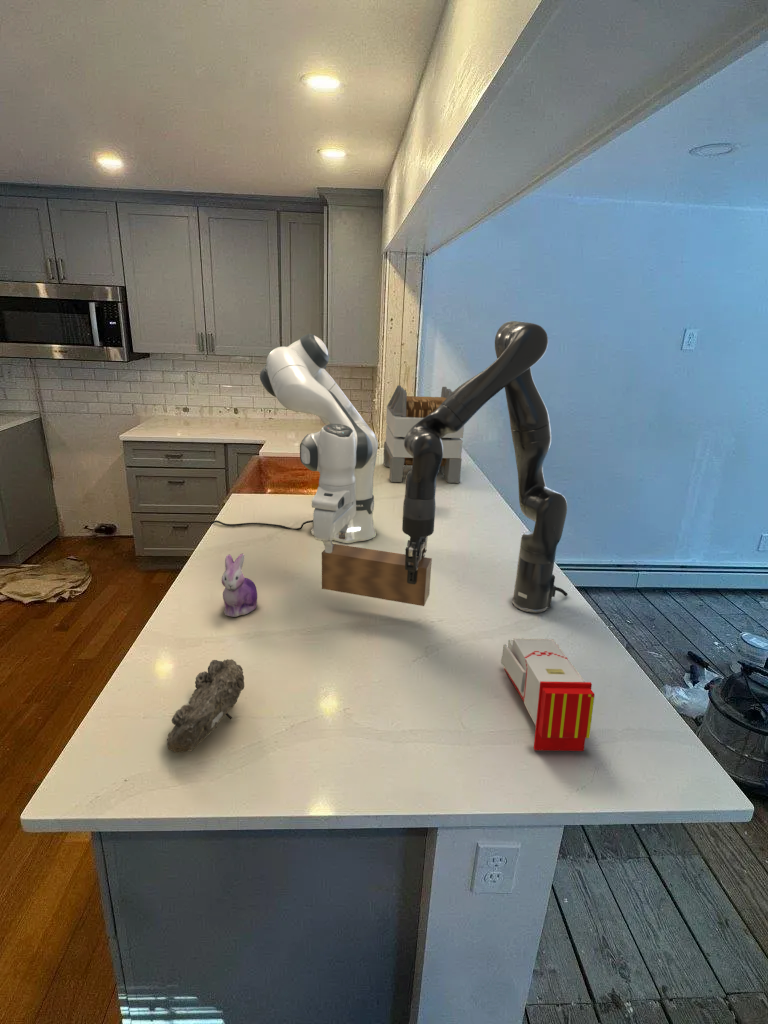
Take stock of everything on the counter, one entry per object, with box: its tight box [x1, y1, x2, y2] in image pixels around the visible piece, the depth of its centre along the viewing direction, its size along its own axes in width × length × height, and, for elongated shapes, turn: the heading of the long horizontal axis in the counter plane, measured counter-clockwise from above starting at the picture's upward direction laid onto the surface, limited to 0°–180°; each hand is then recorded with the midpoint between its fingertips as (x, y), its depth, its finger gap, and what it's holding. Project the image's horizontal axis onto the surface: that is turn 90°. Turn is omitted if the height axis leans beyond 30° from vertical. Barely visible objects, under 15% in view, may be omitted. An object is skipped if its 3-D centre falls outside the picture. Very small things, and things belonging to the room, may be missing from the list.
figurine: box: [220, 553, 258, 618], centre depth 144 cm, size 9×10×15 cm
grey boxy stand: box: [383, 384, 465, 484], centre depth 268 cm, size 34×33×41 cm
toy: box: [500, 637, 595, 752], centre depth 114 cm, size 12×13×30 cm
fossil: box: [166, 658, 245, 754], centre depth 106 cm, size 22×10×15 cm
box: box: [321, 543, 433, 607], centre depth 142 cm, size 27×6×10 cm, turn 74°
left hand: (336, 544), depth 142 cm, fingers open, 8 cm apart
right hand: (415, 577), depth 139 cm, fingers closed on box, 6 cm apart
